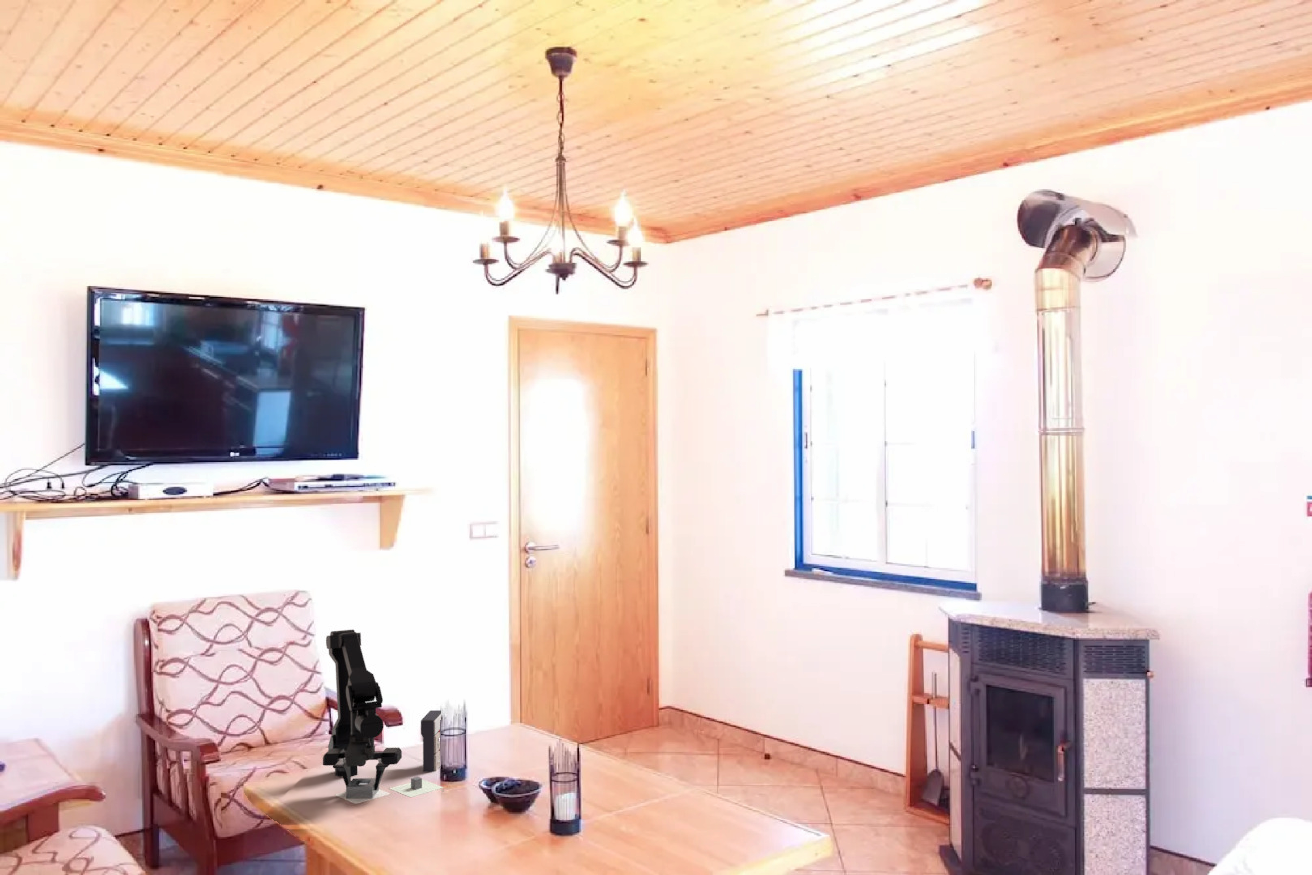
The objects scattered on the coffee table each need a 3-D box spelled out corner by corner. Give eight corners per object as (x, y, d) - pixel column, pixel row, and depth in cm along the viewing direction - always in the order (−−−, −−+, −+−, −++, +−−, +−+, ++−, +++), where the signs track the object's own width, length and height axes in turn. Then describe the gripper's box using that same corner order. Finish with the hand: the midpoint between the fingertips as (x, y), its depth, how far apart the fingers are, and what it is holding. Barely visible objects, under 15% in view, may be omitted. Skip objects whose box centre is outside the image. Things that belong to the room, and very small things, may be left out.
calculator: (436, 775, 277) (436, 720, 277) (420, 775, 277) (420, 720, 277) (445, 762, 288) (445, 709, 288) (430, 762, 288) (430, 709, 288)
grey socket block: (346, 798, 255) (346, 786, 255) (353, 790, 262) (353, 778, 262) (372, 798, 255) (372, 786, 255) (379, 789, 262) (378, 778, 262)
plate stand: (334, 798, 258) (334, 784, 258) (369, 788, 265) (369, 775, 266) (355, 807, 251) (355, 793, 251) (390, 797, 259) (390, 783, 259)
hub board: (389, 792, 263) (389, 778, 263) (422, 782, 270) (422, 769, 270) (410, 801, 256) (410, 787, 256) (443, 791, 263) (443, 777, 263)
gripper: (315, 738, 250) (316, 801, 250) (391, 737, 251) (392, 800, 251) (329, 726, 262) (329, 786, 261) (402, 724, 262) (402, 785, 262)
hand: (362, 790), depth 258 cm, fingers closed on grey socket block, 7 cm apart
